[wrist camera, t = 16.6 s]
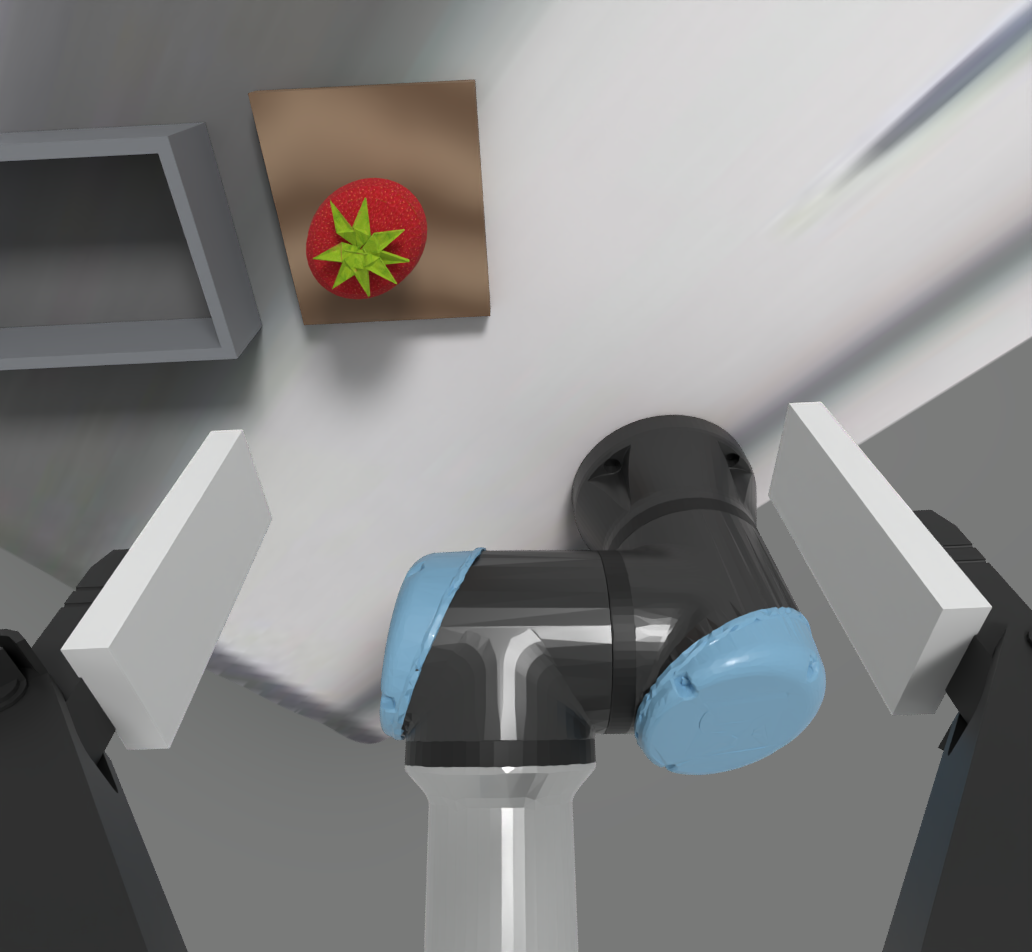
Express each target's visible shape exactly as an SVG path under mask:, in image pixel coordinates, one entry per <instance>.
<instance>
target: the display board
mask: <svg viewBox="0 0 1032 952" xmlns="http://www.w3.org/2000/svg"><path fill="white" fill-rule="evenodd" d="M248 95H249V99H250V104H251V108H252V112H253V116H254V120H255V124H256V128H257V133H258V137H259V141H260V145H261V149H262V153H263V157H264V161H265V166H266V170H267V174H268V178H269V182H270V186H271V190H272V195H273V199H274V203H275V207H276V211H277V215H278V219H279V223H280V228H281V232H282V236H283V240H284V244H285V248H286V252H287V257H288V261H289V265H290V269H291V273H292V277H293V281H294V285H295V290H296V294H297V298H298V302H299V306H300V310H301V314H302V319H303V323H304V325H314V324H334V323H355V322H375V321H395V320H416V319H436V318H456V317H477V316H490V293H489V279H488V264H487V249H486V234H485V219H484V204H483V190H482V175H481V160H480V145H479V130H478V115H477V101H476V86H475V80H457V81H438V82H418V83H399V84H379V85H360V86H341V87H321V88H302V89H282V90H263V91H254V92H251V93H248ZM366 178H382V179H388V180H391V181H394V182H397V183H399V184H401V185H402V186H404V187H405V188H407V189H408V190H409V191H410V192H411V193H412V194H413V195H414V196H415V197H416V198H417V199H418V201H419V203H420V204H421V206H422V208H423V211H424V213H425V216H426V222H427V240H426V244H425V248H424V251H423V254H422V256H421V258H420V260H419V262H418V263H417V265H416V266H415V268H414V269H413V270H412V272H411V273H410V274H409V275H408V276H407V277H406V278H405V279H404V280H403V281H401V282H400V283H399V284H398V285H396V286H395V287H393V288H392V289H391V290H389V291H387V292H385V293H383V294H381V295H379V296H375V297H371V298H367V299H348V298H344V297H340V296H337V295H335V294H333V293H331V292H329V291H327V290H326V289H325V288H324V287H323V286H321V285H320V284H319V283H318V281H317V280H316V279H315V277H314V276H313V274H312V272H311V270H310V268H309V265H308V261H307V257H306V242H307V236H308V230H309V227H310V224H311V221H312V219H313V216H314V215H315V213H316V211H317V210H318V208H319V206H320V205H321V204H322V203H323V202H324V201H325V199H326V198H327V197H328V196H329V195H331V194H332V193H333V192H334V191H336V190H337V189H338V188H340V187H342V186H344V185H346V184H348V183H351V182H354V181H357V180H360V179H366Z"/></svg>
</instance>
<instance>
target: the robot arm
mask: <svg viewBox="0 0 1032 952" xmlns="http://www.w3.org/2000/svg"><path fill="white" fill-rule="evenodd" d="M768 496H769V497H770V499H771V501H772V503H773V504H774V506H775V508H776V510H777V512H778V513H779V515H780V517H781V519H782V521H783V522H784V524H785V526H786V528H787V530H788V531H789V533H790V535H791V537H792V538H793V540H794V542H795V544H796V545H797V547H798V549H799V551H800V553H801V554H802V556H803V558H804V559H805V561H806V563H807V565H808V567H809V569H810V570H811V572H812V574H813V576H814V577H815V579H816V581H817V583H818V585H819V586H820V588H821V590H822V592H823V593H824V595H825V597H826V599H827V600H828V602H829V604H830V606H831V608H832V610H833V611H834V613H835V615H836V617H837V618H838V620H839V622H840V624H841V626H842V627H843V629H844V631H845V633H846V634H847V636H848V638H849V640H850V642H851V643H852V645H853V647H854V649H855V651H856V652H857V654H858V656H859V658H860V659H861V661H862V663H863V665H864V667H865V668H866V670H867V672H868V674H869V675H870V677H871V679H872V681H873V683H874V684H875V686H876V688H877V690H878V691H879V693H880V695H881V697H882V699H883V700H884V702H885V704H886V705H887V707H888V709H889V711H890V713H891V715H892V716H895V715H916V714H917V715H918V714H934V713H935V712H936V710H937V708H938V706H939V705H940V703H941V701H942V699H943V697H944V695H945V694H946V693H947V694H948V696H949V697H950V699H951V700H952V702H953V703H954V705H955V706H956V708H957V709H958V711H959V712H958V714H957V715H956V717H955V719H954V721H953V722H952V724H951V726H950V728H949V729H948V731H947V733H946V735H945V737H944V738H943V740H942V742H941V743H940V745H939V747H938V748H940V749H942V750H944V752H943V755H942V758H941V762H940V765H939V768H938V771H937V775H936V778H935V781H934V784H933V788H932V791H931V794H930V797H929V801H928V804H927V807H926V810H925V814H924V817H923V820H922V824H921V827H920V830H919V834H918V837H917V840H916V843H915V847H914V850H913V853H912V856H911V860H910V863H909V866H908V870H907V873H906V876H905V879H904V882H903V886H902V889H901V892H900V896H899V899H898V903H897V906H896V909H895V912H894V915H893V919H892V922H891V925H890V929H889V932H888V935H887V938H886V941H885V945H884V948H883V951H882V952H1032V610H1031V609H1030V608H1029V607H1028V606H1027V605H1026V604H1025V602H1024V601H1023V600H1022V599H1021V598H1020V597H1019V596H1018V595H1017V594H1016V592H1015V591H1014V590H1013V589H1012V588H1011V587H1010V586H1009V585H1008V583H1007V582H1006V581H1005V580H1004V579H1003V578H1002V577H1001V576H1000V575H999V573H998V572H997V571H996V570H995V569H994V568H993V567H992V566H991V564H989V563H986V561H985V560H986V559H985V558H984V557H983V556H982V555H981V553H980V552H979V551H978V550H977V549H976V548H973V547H972V543H971V542H970V541H969V540H968V539H967V538H966V537H965V535H964V534H963V533H962V532H961V531H960V530H959V529H958V528H957V527H956V526H955V525H954V524H952V523H951V522H949V521H948V520H946V519H945V518H943V517H941V516H940V515H938V514H937V513H935V512H934V511H932V510H921V511H912V510H911V509H910V508H909V507H908V505H907V504H906V503H905V502H904V501H903V499H902V498H901V497H900V496H899V495H898V493H897V492H896V491H895V490H894V489H893V487H892V486H891V485H890V484H889V483H888V482H887V480H886V479H885V478H884V477H883V475H882V474H881V473H880V472H879V471H878V470H877V468H876V467H875V466H874V465H873V463H872V462H871V461H870V460H869V459H868V457H867V456H866V455H865V454H864V453H863V452H862V450H861V449H860V448H859V447H858V445H857V444H856V443H855V442H854V441H853V439H852V438H851V437H850V436H849V435H848V433H847V432H846V431H845V430H844V429H843V427H842V426H841V425H840V424H839V423H838V421H837V420H836V419H835V418H834V417H833V415H832V414H831V413H830V412H829V411H828V409H827V408H826V407H825V406H824V405H823V403H822V402H804V403H789V405H788V410H787V414H786V419H785V423H784V427H783V432H782V436H781V441H780V445H779V450H778V454H777V459H776V463H775V467H774V472H773V476H772V481H771V485H770V490H769V494H768ZM572 501H573V508H574V515H575V520H576V524H577V527H578V530H579V532H580V535H581V537H582V538H583V540H584V542H585V543H586V545H587V546H588V547H589V549H590V550H516V551H486V548H476V549H475V550H474V551H462V552H443V553H433V554H429V555H426V556H424V557H422V558H421V559H419V560H418V561H417V562H416V563H414V565H413V566H412V567H411V568H410V570H409V571H408V573H407V575H406V577H405V579H404V581H403V583H402V586H401V588H400V591H399V594H398V597H397V600H396V603H395V607H394V611H393V615H392V619H391V623H390V628H389V632H388V637H387V643H386V648H385V655H384V661H383V669H382V678H381V692H382V696H381V705H380V722H381V727H382V729H383V731H384V733H385V734H386V735H388V736H391V737H393V738H394V739H395V740H404V739H405V738H406V755H405V771H406V772H407V773H408V775H409V776H410V777H411V778H412V779H413V780H414V781H415V783H416V784H417V785H418V786H419V787H420V788H421V789H422V791H423V792H424V793H425V795H426V797H427V799H428V801H429V818H428V849H427V880H426V911H425V941H424V952H578V932H577V909H576V908H577V907H576V882H575V857H574V831H573V806H572V799H573V797H574V795H575V793H576V791H577V790H578V788H579V787H580V786H581V785H582V784H583V783H584V781H585V780H586V779H587V778H588V776H589V775H590V774H591V773H592V772H593V770H594V769H595V768H596V759H595V735H596V734H635V738H636V739H637V744H638V745H639V746H640V748H641V749H642V750H643V752H644V754H645V755H646V756H647V758H648V759H650V761H651V762H652V763H654V764H655V765H657V766H659V767H664V766H665V767H666V768H667V770H669V771H671V772H674V773H679V774H688V775H704V774H714V773H720V772H725V771H729V770H733V769H737V768H740V767H743V766H746V765H749V764H752V763H754V762H756V761H759V760H761V759H763V758H765V757H767V756H769V755H771V754H773V753H774V752H775V751H776V750H778V749H780V748H781V747H783V746H785V745H786V744H788V743H789V742H791V741H792V740H793V739H794V738H796V737H797V736H798V735H799V734H800V733H801V732H802V731H803V730H804V729H805V728H806V727H807V726H808V725H809V723H810V722H811V721H812V719H813V718H814V717H815V715H816V713H817V712H818V710H819V707H820V705H821V703H822V701H823V697H824V694H825V688H826V677H825V670H824V667H823V663H822V661H821V658H820V655H819V653H818V650H817V648H816V645H815V643H814V640H813V637H812V635H811V630H810V625H809V623H808V621H807V619H806V618H805V617H804V616H803V615H802V614H801V613H800V611H799V609H798V607H797V605H796V603H795V601H794V599H793V597H792V595H791V593H790V591H789V590H788V588H787V586H786V584H785V582H784V580H783V578H782V576H781V574H780V572H779V570H778V568H777V566H776V564H775V562H774V561H773V559H772V557H771V555H770V553H769V551H768V549H767V547H766V545H765V543H764V541H763V539H762V537H761V536H760V534H759V532H758V530H757V528H756V481H755V477H754V473H753V470H752V467H751V465H750V463H749V461H748V460H747V458H746V456H745V454H744V452H743V451H742V449H741V447H740V446H739V444H738V443H737V442H736V440H735V439H734V438H733V437H732V436H731V435H730V434H729V433H727V432H726V431H725V430H723V429H722V428H720V427H719V426H717V425H715V424H713V423H711V422H708V421H706V420H703V419H699V418H695V417H690V416H682V415H664V416H656V417H650V418H646V419H642V420H639V421H636V422H633V423H630V424H628V425H626V426H624V427H622V428H620V429H618V430H616V431H614V432H613V433H611V434H610V435H608V436H607V437H605V438H604V439H603V440H602V441H600V442H599V443H598V444H597V445H596V446H595V447H594V448H593V449H592V450H591V451H590V453H589V454H588V455H587V456H586V458H585V459H584V461H583V462H582V464H581V466H580V467H579V469H578V472H577V474H576V477H575V480H574V484H573V491H572ZM271 521H272V516H271V513H270V510H269V507H268V504H267V501H266V498H265V495H264V492H263V489H262V486H261V483H260V480H259V477H258V474H257V471H256V468H255V465H254V462H253V459H252V456H251V453H250V450H249V447H248V443H247V440H246V437H245V434H244V431H243V430H222V431H211V432H210V433H209V435H208V436H207V438H206V439H205V441H204V442H203V444H202V445H201V447H200V448H199V449H198V451H197V452H196V454H195V455H194V457H193V458H192V460H191V461H190V462H189V464H188V465H187V467H186V468H185V470H184V471H183V473H182V474H181V476H180V477H179V478H178V480H177V481H176V483H175V484H174V486H173V487H172V489H171V490H170V491H169V493H168V494H167V496H166V497H165V499H164V500H163V502H162V503H161V505H160V506H159V507H158V509H157V510H156V512H155V513H154V515H153V516H152V518H151V519H150V521H149V522H148V523H147V525H146V526H145V528H144V529H143V531H142V532H141V534H140V535H139V536H138V538H137V539H136V541H135V542H134V544H133V545H132V547H131V548H130V549H124V550H113V551H111V552H110V553H109V554H107V555H106V556H105V557H104V558H102V559H101V560H100V561H99V562H97V563H96V564H95V565H93V566H92V567H91V568H90V569H89V571H88V572H87V573H86V575H85V576H84V577H83V579H82V580H81V581H80V583H79V584H78V585H77V587H76V591H73V592H72V594H71V595H70V596H69V598H68V599H67V600H66V602H65V603H64V604H65V606H64V607H63V608H61V609H60V610H59V611H58V613H57V614H56V615H55V617H54V618H53V619H52V621H51V622H50V624H49V625H48V626H47V628H46V629H45V630H44V632H43V633H42V634H41V636H40V637H39V638H38V640H37V641H36V642H35V644H34V645H33V647H32V648H31V647H30V646H29V644H28V643H27V641H26V640H25V639H24V638H23V636H22V635H21V634H20V633H19V632H17V631H12V630H8V629H2V630H0V952H187V949H186V946H185V944H184V941H183V939H182V936H181V934H180V931H179V929H178V926H177V924H176V921H175V919H174V916H173V914H172V911H171V909H170V906H169V904H168V901H167V899H166V896H165V894H164V891H163V889H162V886H161V884H160V881H159V879H158V876H157V874H156V871H155V869H154V866H153V864H152V862H151V859H150V856H149V854H148V851H147V849H146V847H145V844H144V842H143V839H142V837H141V834H140V832H139V829H138V827H137V824H136V822H135V819H134V817H133V814H132V812H131V809H130V807H129V804H128V802H127V799H126V797H125V794H124V792H123V789H122V787H121V784H120V782H119V779H118V777H117V774H116V772H115V769H114V767H113V765H112V762H111V760H110V758H109V757H108V756H107V754H106V753H105V749H106V747H107V745H108V743H109V741H110V739H111V738H112V736H113V734H114V732H116V733H117V735H118V737H119V738H120V739H121V741H122V742H123V744H124V745H125V747H126V748H127V750H138V749H139V750H140V749H163V748H170V746H171V744H172V741H173V739H174V737H175V735H176V732H177V730H178V728H179V726H180V724H181V721H182V719H183V716H184V715H185V712H186V710H187V708H188V706H189V703H190V701H191V699H192V697H193V695H194V692H195V690H196V688H197V686H198V683H199V681H200V679H201V677H202V674H203V672H204V670H205V668H206V666H207V663H208V661H209V659H210V657H211V654H212V652H213V650H214V648H215V646H216V643H217V641H218V639H219V637H220V634H221V632H222V630H223V628H224V625H225V623H226V621H227V619H228V617H229V614H230V612H231V610H232V608H233V605H234V603H235V601H236V599H237V596H238V594H239V592H240V590H241V588H242V585H243V583H244V581H245V579H246V576H247V574H248V572H249V570H250V567H251V565H252V563H253V561H254V559H255V556H256V554H257V552H258V550H259V547H260V545H261V543H262V541H263V538H264V536H265V534H266V532H267V529H268V527H269V525H270V523H271Z"/></svg>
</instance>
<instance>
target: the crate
mask: <svg viewBox="0 0 1032 952" xmlns="http://www.w3.org/2000/svg"><path fill="white" fill-rule="evenodd" d="M155 153H158V154H159V158H160V161H161V164H162V167H163V170H164V173H165V176H166V179H167V182H168V185H169V188H170V191H171V194H172V197H173V201H174V204H175V207H176V210H177V213H178V216H179V219H180V222H181V225H182V228H183V231H184V234H185V237H186V240H187V244H188V247H189V250H190V253H191V256H192V259H193V262H194V265H195V268H196V271H197V274H198V277H199V280H200V283H201V287H202V290H203V293H204V296H205V299H206V302H207V305H208V308H209V311H210V314H211V317H212V318H193V319H173V320H153V321H132V322H112V323H92V324H71V325H51V326H31V327H10V328H0V370H16V369H36V368H57V367H77V366H98V365H118V364H139V363H159V362H180V361H200V360H221V359H238V357H239V356H240V355H241V353H242V352H243V351H244V349H245V348H246V347H247V345H248V344H249V343H250V341H251V340H252V339H253V337H254V336H255V335H256V334H257V332H258V331H259V330H260V328H261V327H262V323H261V319H260V316H259V312H258V309H257V305H256V302H255V298H254V295H253V291H252V287H251V284H250V280H249V277H248V273H247V270H246V266H245V263H244V259H243V255H242V252H241V248H240V245H239V241H238V238H237V234H236V231H235V227H234V223H233V220H232V216H231V213H230V209H229V206H228V202H227V198H226V195H225V191H224V188H223V184H222V181H221V177H220V174H219V170H218V166H217V163H216V159H215V156H214V152H213V149H212V145H211V142H210V138H209V134H208V131H207V127H206V124H205V122H204V123H184V124H165V125H145V126H125V127H106V128H86V129H67V130H47V131H28V132H8V133H0V161H18V160H37V159H57V158H77V157H96V156H116V155H136V154H155Z"/></svg>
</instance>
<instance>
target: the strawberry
mask: <svg viewBox="0 0 1032 952" xmlns="http://www.w3.org/2000/svg"><path fill="white" fill-rule="evenodd" d="M426 240H427V222H426V216H425V213H424V211H423V208H422V206H421V204H420V203H419V201H418V199H417V198H416V197H415V196H414V195H413V194H412V193H411V192H410V191H409V190H408V189H407V188H405V187H404V186H402V185H401V184H399V183H397V182H394V181H391V180H388V179H382V178H366V179H360V180H357V181H354V182H351V183H348V184H346V185H344V186H342V187H340V188H338V189H337V190H336V191H334V192H333V193H332V194H331V195H329V196H328V197H327V198H326V199H325V201H324V202H323V203H322V204H321V205H320V206H319V208H318V210H317V211H316V213H315V215H314V216H313V219H312V221H311V224H310V227H309V230H308V236H307V242H306V257H307V261H308V265H309V268H310V270H311V272H312V274H313V276H314V277H315V279H316V280H317V281H318V283H319V284H320V285H321V286H323V287H324V288H325V289H326V290H327V291H329V292H331V293H333V294H335V295H337V296H340V297H344V298H348V299H367V298H371V297H375V296H379V295H381V294H383V293H385V292H387V291H389V290H391V289H392V288H393V287H395V286H396V285H398V284H399V283H400V282H401V281H403V280H404V279H405V278H406V277H407V276H408V275H409V274H410V273H411V272H412V270H413V269H414V268H415V266H416V265H417V263H418V262H419V260H420V258H421V256H422V254H423V251H424V248H425V244H426Z"/></svg>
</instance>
